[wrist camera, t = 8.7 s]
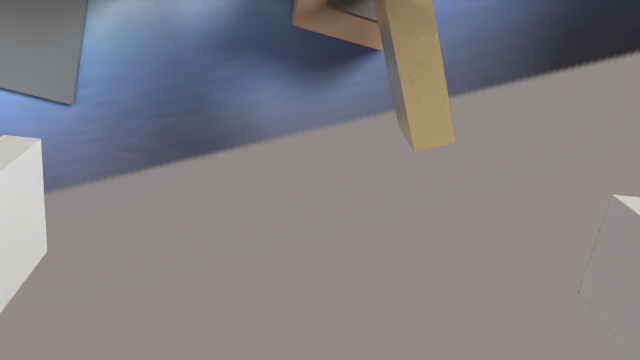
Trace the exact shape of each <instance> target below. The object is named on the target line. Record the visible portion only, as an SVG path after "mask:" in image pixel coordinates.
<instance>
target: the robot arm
mask: <svg viewBox="0 0 640 360" xmlns="http://www.w3.org/2000/svg"><path fill="white" fill-rule="evenodd" d="M46 252H47V241H46V223H45V207H44V187H43V170H42V152H41V139H37V138H27V137H16V136H6V135H3V136H1V137H0V313H1V312H2V310H3V309H4V308H5V306H6V305H7V304H8V302H9V301H10V300H11V298H12V297H13V296H14V294H15V293H16V292H17V290H18V289H19V288H20V286H21V285H22V284H23V282H24V281H25V280H26V278H27V277H28V276H29V274H30V273H31V272H32V271H33V269H34V268H35V266H36V265H37V264H38V262H39V261H40V260H41V259H42V257H43V256H44V255H45V253H46ZM578 292H579V293H580V295H581V296H582V297H583V298H584V299H585V300H586V302H587V303H588V304H589V305H590V306H591V307H592V308H593V310H594V311H595V312H596V313H597V314H598V316H599V317H600V318H601V319H602V320H603V321H604V322H605V324H606V325H607V326H608V327H609V328H610V330H611V331H612V332H613V333H614V334H615V335H616V336H617V337H618V339H619V340H620V341H621V342H622V343H623V345H624V346H625V347H626V348H627V349H628V350H629V351H630V353H631V354H632V355H633V356H634V357H635V359H636V360H640V197H631V196H622V195H612V197H611V200H610V203H609V205H608V208H607V211H606V214H605V217H604V220H603V223H602V226H601V228H600V231H599V234H598V237H597V240H596V243H595V246H594V248H593V251H592V254H591V257H590V260H589V263H588V265H587V268H586V271H585V274H584V277H583V280H582V283H581V285H580V288H579V291H578Z"/></svg>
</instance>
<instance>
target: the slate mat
mask: <svg viewBox="0 0 640 360" xmlns="http://www.w3.org/2000/svg"><path fill="white" fill-rule="evenodd" d="M87 3H88V0H0V87H1V88H5V89H10V90H14V91H18V92H22V93H26V94H30V95H34V96H38V97H42V98H46V99H50V100H54V101H58V102H62V103H66V104H70V105H73V104H74V103H75V97H76V89H77V81H78V73H79V66H80V58H81V50H82V42H83V34H84V27H85V19H86V11H87Z"/></svg>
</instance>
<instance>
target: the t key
mask: <svg viewBox="0 0 640 360" xmlns="http://www.w3.org/2000/svg"><path fill="white" fill-rule="evenodd" d="M373 1H374V6H375V11H376V16H377V21H378V26H379V30H380V35H381V40H382V45H383V50H384V55H385V60H386V65H387V70H388V75H389V80H390V84H391V89H392V94H393V99H394V104H395V109H396V114H397V119H398V124H399V128H400V130H401V132H402V133H403V135H404V136H405V138H406V140H407V141H408V143H409V145H410V146H411V148H412V149H413V151H414V153H416V152H420V151H424V150H427V149H432V148H435V147H439V146H443V145H447V144H451V143H455V142H456V140H455V134H454V128H453V121H452V115H451V110H450V103H449V97H448V91H447V85H446V79H445V73H444V67H443V61H442V55H441V49H440V42H439V36H438V30H437V24H436V18H435V12H434V6H433V0H373Z"/></svg>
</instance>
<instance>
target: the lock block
mask: <svg viewBox="0 0 640 360" xmlns="http://www.w3.org/2000/svg"><path fill="white" fill-rule="evenodd" d="M291 14H292V25H293V26H296V27H300V28H304V29H307V30H311V31H314V32H318V33H321V34H325V35H328V36H332V37H335V38H339V39H342V40H346V41H349V42H353V43H356V44H360V45H363V46H367V47H371V48H374V49H378V50H381V51H384V50H383V45H382V40H381V35H380V30H379V26H378V21H377V16H376V11H375V6H374V1H373V0H295V1H294V5H293V9H292V13H291Z"/></svg>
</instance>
